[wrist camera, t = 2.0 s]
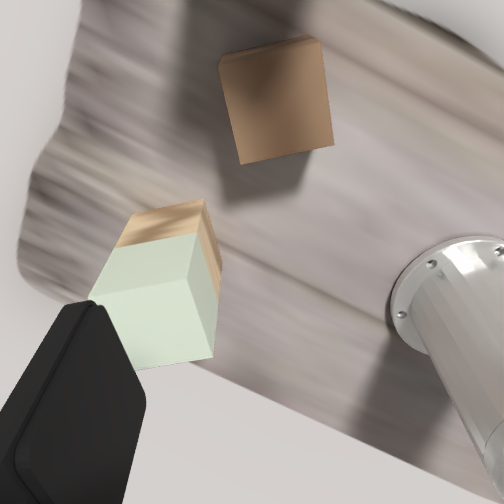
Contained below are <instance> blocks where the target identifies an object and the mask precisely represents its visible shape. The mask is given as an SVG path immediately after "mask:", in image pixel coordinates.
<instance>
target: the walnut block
mask: <svg viewBox="0 0 504 504" xmlns="http://www.w3.org/2000/svg"><path fill="white" fill-rule="evenodd" d="M217 67H218V71H219V76H220V80H221V84H222V88H223V93H224V97H225V101H226V105H227V109H228V114H229V118H230V122H231V126H232V130H233V135H234V139H235V143H236V147H237V152H238V156H239V160H240V164H241V165H243V164H247V163H252V162H257V161H261V160H266V159H271V158H276V157H280V156H285V155H290V154H294V153H299V152H304V151H309V150H313V149H318V148H323V147H327V146H332V145H334V138H333V131H332V123H331V115H330V108H329V100H328V93H327V85H326V78H325V70H324V63H323V55H322V48H321V42H320V41H318V40H317V39H315V38H313V37H312V36H310V35H305V36H301V37H297V38H293V39H289V40H284V41H280V42H276V43H272V44H268V45H263V46H259V47H255V48H251V49H246V50H242V51H238V52H234V53H230V54H225V55H222V57H221V60H220V62H219V64H218V66H217Z"/></svg>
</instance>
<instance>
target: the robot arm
mask: <svg viewBox="0 0 504 504" xmlns="http://www.w3.org/2000/svg"><path fill="white" fill-rule="evenodd" d="M390 313H391V317H392V321H393V324H394V326H395V328H396V330H397V332H398V334H399V335H400V337H401V338H402V339H403V341H404V342H405V343H407V344H408V345H409V346H410V347H411V348H413V349H415V350H417V351H419V352H421V353H423V354H426V355H429V357H430V359H431V361H432V363H433V365H434V367H435V369H436V371H437V373H438V375H439V377H440V379H441V381H442V383H443V385H444V387H445V389H446V391H447V393H448V395H449V397H450V399H451V400H452V402H453V404H454V406H455V408H456V410H457V412H458V414H459V416H460V418H461V420H462V422H463V424H464V426H465V428H466V430H467V432H468V434H469V436H470V438H471V440H472V442H473V444H474V446H475V448H476V450H477V452H478V454H479V456H480V458H481V460H482V462H483V464H484V466H485V468H486V470H487V472H488V474H489V476H490V478H491V480H492V482H493V484H494V486H495V488H496V489H497V491H498V493H499V494H500V496H501V497H502V499H503V500H504V240H502V239H499V238H496V237H489V236H465V237H460V238H455V239H452V240H449V241H446V242H443V243H440V244H438V245H436V246H434V247H432V248H431V249H429V250H427V251H425V252H424V253H423V254H421V255H420V256H419V257H417V258H416V259H415V260H414V261H413V262H412V263H411V264H410V265H409V266H408V267H407V268H406V269H405V270H404V271H403V273H402V274H401V276H400V277H399V279H398V280H397V282H396V285H395V287H394V289H393V291H392V296H391V301H390ZM145 410H146V396H145V392H144V390H143V388H142V386H141V383H140V381H139V379H138V377H137V375H136V373H135V371H134V368H133V366H132V364H131V362H130V360H129V358H128V355H127V353H126V351H125V349H124V347H123V345H122V342H121V340H120V338H119V336H118V334H117V332H116V330H115V327H114V325H113V323H112V321H111V319H110V317H109V314H108V312H107V310H106V309H105V307H104V306H103V305H97V304H96V303H95V302H94V301H92V300H88V301H83V302H77V303H72V304H67V305H65V306H64V307H63V308H62V309H61V311H60V313H59V314H58V316H57V318H56V320H55V321H54V323H53V325H52V326H51V328H50V330H49V331H48V333H47V335H46V336H45V338H44V339H43V341H42V343H41V344H40V346H39V348H38V350H37V351H36V353H35V355H34V356H33V358H32V359H31V361H30V363H29V365H28V366H27V368H26V369H25V371H24V373H23V374H22V376H21V378H20V379H19V381H18V383H17V384H16V386H15V388H14V390H13V391H12V393H11V394H10V396H9V398H8V399H7V401H6V403H5V405H4V406H3V408H2V409H1V411H0V504H122V502H123V498H124V494H125V490H126V486H127V482H128V478H129V474H130V470H131V466H132V462H133V457H134V454H135V450H136V446H137V442H138V438H139V433H140V429H141V426H142V422H143V418H144V414H145Z"/></svg>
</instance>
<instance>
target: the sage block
mask: <svg viewBox="0 0 504 504" xmlns="http://www.w3.org/2000/svg"><path fill="white" fill-rule="evenodd" d="M88 300H92V301H94V302H95V303H96V304H97V305H103V306H104V307H105V309H106V310H107V312H108V314H109V317H110V319H111V321H112V323H113V325H114V327H115V330H116V332H117V334H118V336H119V338H120V340H121V342H122V345H123V347H124V349H125V351H126V353H127V355H128V358H129V360H130V362H131V364H132V366H133V368H134V371H136V370H142V369H148V368H154V367H160V366H166V365H171V364H177V363H183V362H189V361H195V360H201V359H206V358H212V357H213V353H214V343H215V333H216V322H217V312H218V299H217V296H216V293H215V289H214V286H213V283H212V280H211V276H210V273H209V270H208V267H207V263H206V260H205V257H204V254H203V250H202V247H201V244H200V240H199V237H198V234H197V232H195V233H190V234H185V235H180V236H175V237H170V238H165V239H160V240H155V241H150V242H145V243H140V244H135V245H130V246H125V247H120V248H115V249H113V251H112V253H111V255H110V257H109V259H108V261H107V263H106V264H105V266H104V268H103V270H102V272H101V274H100V276H99V277H98V279H97V281H96V283H95V285H94V287H93V289H92V291H91V292H90V294H89V296H88Z"/></svg>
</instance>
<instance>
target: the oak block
mask: <svg viewBox="0 0 504 504" xmlns="http://www.w3.org/2000/svg"><path fill="white" fill-rule="evenodd" d="M195 232H197V234H198V237H199V240H200V244H201V247H202V250H203V254H204V257H205V260H206V263H207V267H208V270H209V273H210V276H211V280H212V283H213V286H214V289H215V293H216V296H217V299H218V302H219V292H220V282H221V271H222V259H221V256H220V252H219V249H218V245H217V242H216V238H215V235H214V231H213V228H212V224H211V221H210V217H209V214H208V210H207V207H206V203H205V200H204V199H201V200H197V201H192V202H187V203H182V204H177V205H172V206H167V207H163V208H158V209H153V210H148V211H143V212H138V213H133V214H132V216H131V218H130V220H129V221H128V223H127V225H126V227H125V229H124V231H123V233H122V235H121V236H120V238H119V240H118V242H117V244H116V246H115V248H120V247H125V246H130V245H135V244H140V243H145V242H150V241H155V240H160V239H165V238H170V237H175V236H180V235H185V234H190V233H195ZM115 248H114V249H115Z"/></svg>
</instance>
